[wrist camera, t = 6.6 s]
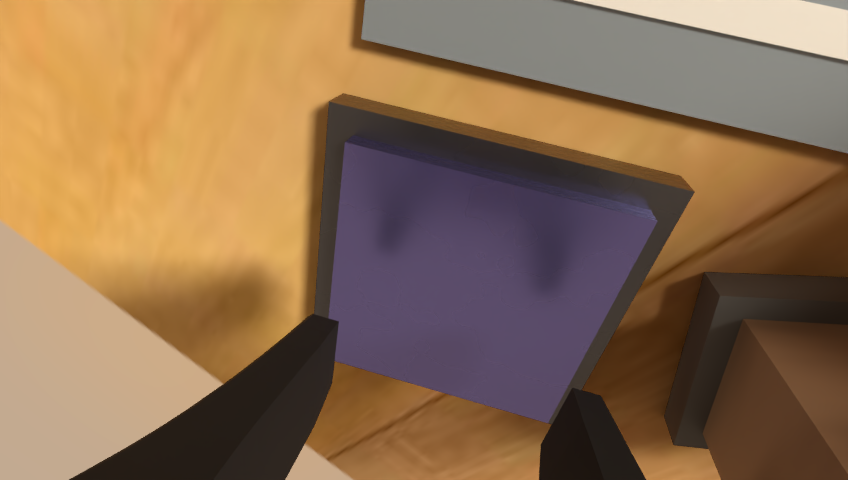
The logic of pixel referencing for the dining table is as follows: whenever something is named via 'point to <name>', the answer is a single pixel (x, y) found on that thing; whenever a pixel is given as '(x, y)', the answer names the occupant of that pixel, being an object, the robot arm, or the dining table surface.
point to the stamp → (766, 377)
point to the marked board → (653, 53)
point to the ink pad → (480, 254)
